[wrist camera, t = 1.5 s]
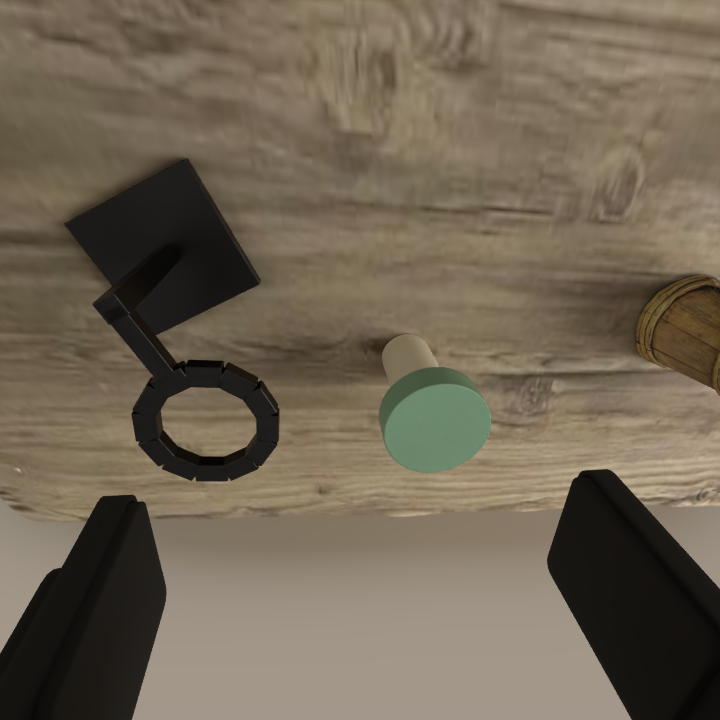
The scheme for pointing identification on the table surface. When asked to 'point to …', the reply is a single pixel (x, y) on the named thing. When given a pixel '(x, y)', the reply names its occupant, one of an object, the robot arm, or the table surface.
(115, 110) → the table surface
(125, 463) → the table surface
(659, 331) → the wooden mug
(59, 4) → the table surface
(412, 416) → the canister
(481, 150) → the table surface
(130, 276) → the holder
